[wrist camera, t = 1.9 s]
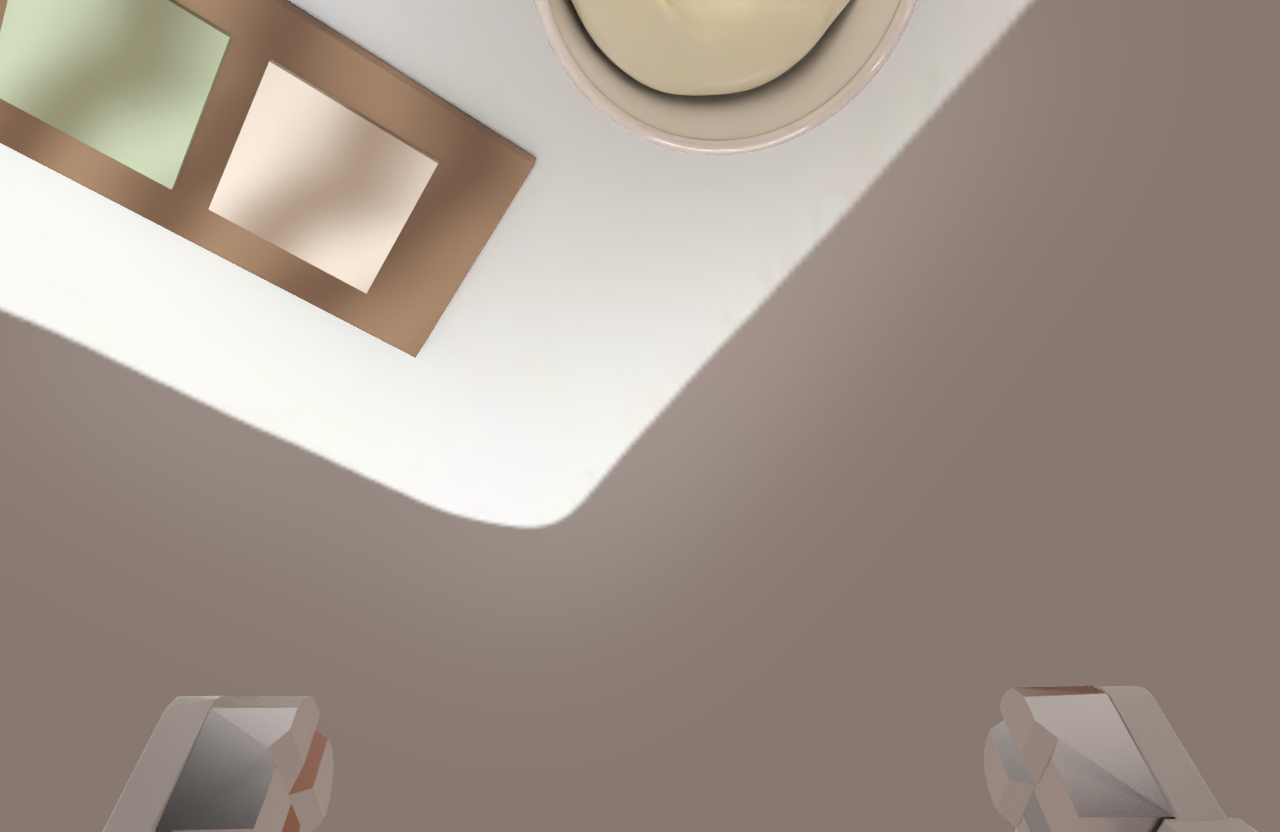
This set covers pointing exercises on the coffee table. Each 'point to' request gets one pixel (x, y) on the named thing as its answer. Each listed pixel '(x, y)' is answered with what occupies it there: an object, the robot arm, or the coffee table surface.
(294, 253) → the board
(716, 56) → the candle holder
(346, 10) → the coffee table surface
